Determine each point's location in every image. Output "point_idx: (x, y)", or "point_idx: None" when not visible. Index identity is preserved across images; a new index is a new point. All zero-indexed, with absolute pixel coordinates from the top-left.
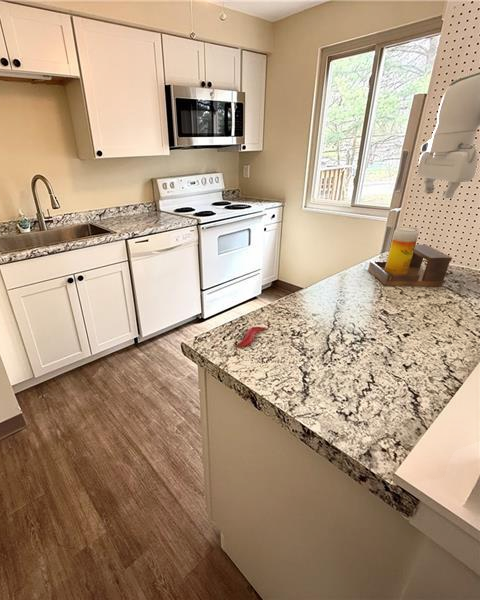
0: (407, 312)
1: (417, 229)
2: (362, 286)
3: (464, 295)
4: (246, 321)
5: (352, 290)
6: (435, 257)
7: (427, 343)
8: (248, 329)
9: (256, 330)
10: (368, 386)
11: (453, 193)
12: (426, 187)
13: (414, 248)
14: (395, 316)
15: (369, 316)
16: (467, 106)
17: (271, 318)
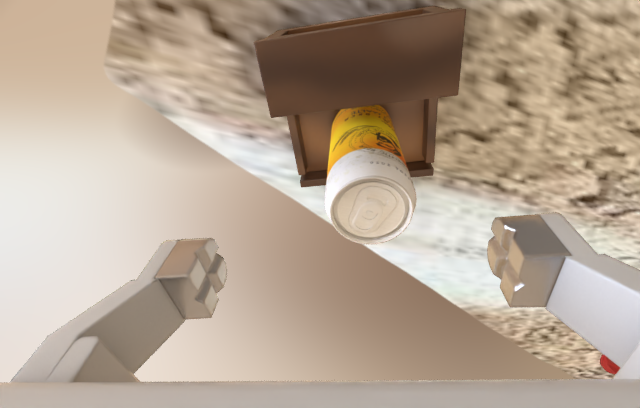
0: (600, 158)
1: (381, 179)
2: (429, 207)
3: None
4: (570, 368)
5: (454, 230)
6: (456, 75)
7: None
8: (610, 372)
9: (613, 364)
10: None
11: (580, 237)
12: (184, 319)
13: (324, 108)
14: (613, 186)
15: (599, 228)
16: None
17: (567, 346)
